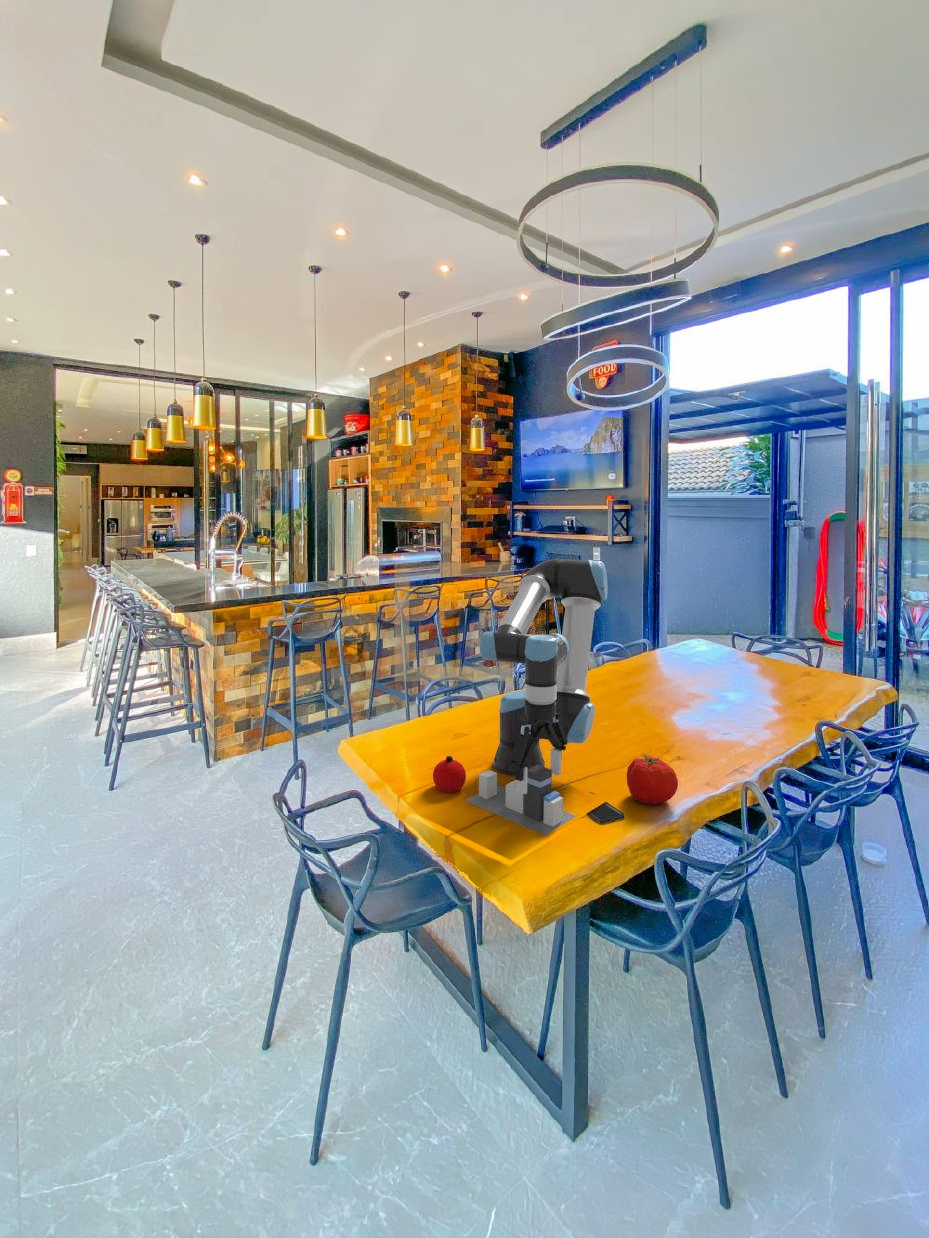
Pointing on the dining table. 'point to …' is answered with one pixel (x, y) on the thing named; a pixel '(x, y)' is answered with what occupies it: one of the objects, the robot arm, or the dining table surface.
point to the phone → (606, 813)
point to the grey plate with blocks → (518, 804)
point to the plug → (537, 791)
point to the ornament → (449, 775)
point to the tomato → (651, 780)
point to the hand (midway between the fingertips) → (539, 782)
